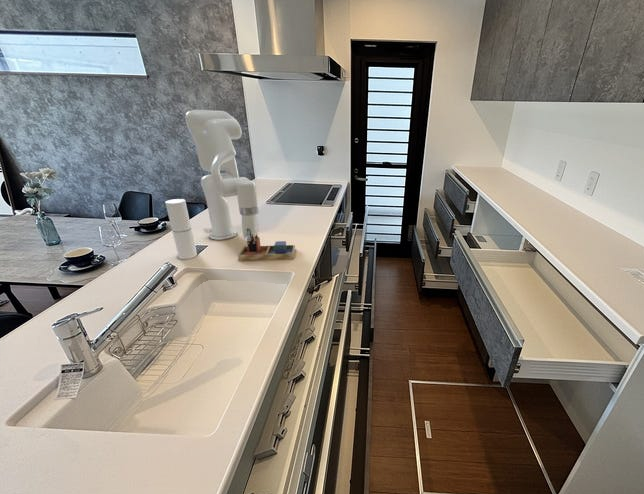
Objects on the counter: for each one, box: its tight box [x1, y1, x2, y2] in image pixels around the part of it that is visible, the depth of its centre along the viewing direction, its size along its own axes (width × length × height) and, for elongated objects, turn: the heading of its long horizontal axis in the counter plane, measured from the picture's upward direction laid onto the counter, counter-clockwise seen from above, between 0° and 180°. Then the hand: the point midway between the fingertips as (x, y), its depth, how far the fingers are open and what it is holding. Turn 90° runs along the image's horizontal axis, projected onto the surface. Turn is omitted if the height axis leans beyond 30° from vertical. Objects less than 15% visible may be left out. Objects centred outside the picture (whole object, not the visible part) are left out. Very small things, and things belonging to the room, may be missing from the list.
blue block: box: [273, 240, 287, 254], centre depth 137 cm, size 4×4×5 cm
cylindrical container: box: [164, 198, 198, 260], centre depth 130 cm, size 7×7×25 cm
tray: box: [237, 244, 296, 262], centre depth 137 cm, size 23×10×2 cm, turn 98°
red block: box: [246, 236, 262, 252], centre depth 135 cm, size 4×4×5 cm
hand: (254, 248), depth 136 cm, fingers closed on red block, 4 cm apart
